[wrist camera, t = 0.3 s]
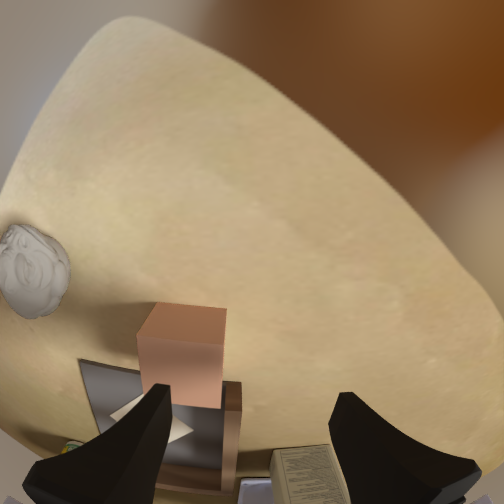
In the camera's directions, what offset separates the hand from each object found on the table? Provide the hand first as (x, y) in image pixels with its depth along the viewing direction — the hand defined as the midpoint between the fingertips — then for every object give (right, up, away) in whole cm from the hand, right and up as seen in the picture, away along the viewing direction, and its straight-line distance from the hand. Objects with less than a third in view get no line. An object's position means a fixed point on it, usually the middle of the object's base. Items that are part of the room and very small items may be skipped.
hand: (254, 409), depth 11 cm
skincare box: (+5, -15, +14) cm, 21 cm away
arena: (-9, -10, +12) cm, 18 cm away
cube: (-5, 0, +10) cm, 11 cm away
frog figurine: (-15, +6, +8) cm, 18 cm away
